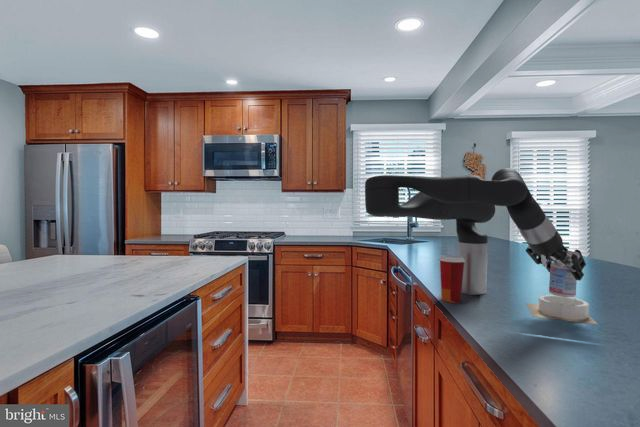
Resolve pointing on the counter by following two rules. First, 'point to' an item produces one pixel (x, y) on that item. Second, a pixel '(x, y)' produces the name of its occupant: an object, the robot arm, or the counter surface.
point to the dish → (563, 307)
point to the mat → (537, 313)
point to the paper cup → (451, 277)
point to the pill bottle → (562, 280)
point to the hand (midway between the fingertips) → (567, 275)
